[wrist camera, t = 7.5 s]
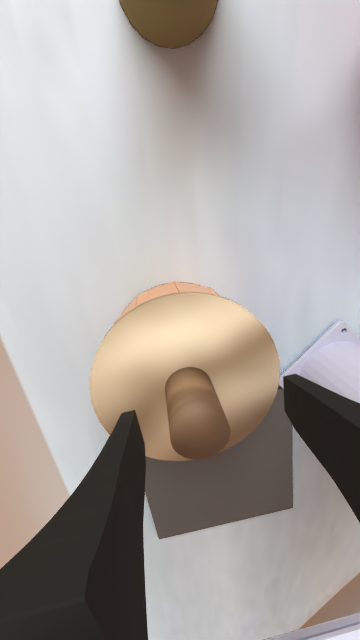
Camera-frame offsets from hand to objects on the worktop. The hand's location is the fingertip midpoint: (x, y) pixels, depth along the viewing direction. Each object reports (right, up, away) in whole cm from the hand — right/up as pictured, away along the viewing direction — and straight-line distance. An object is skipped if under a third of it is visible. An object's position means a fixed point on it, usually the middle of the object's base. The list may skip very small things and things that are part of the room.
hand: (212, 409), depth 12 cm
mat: (+2, -11, +15) cm, 19 cm away
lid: (-1, 0, +6) cm, 6 cm away
